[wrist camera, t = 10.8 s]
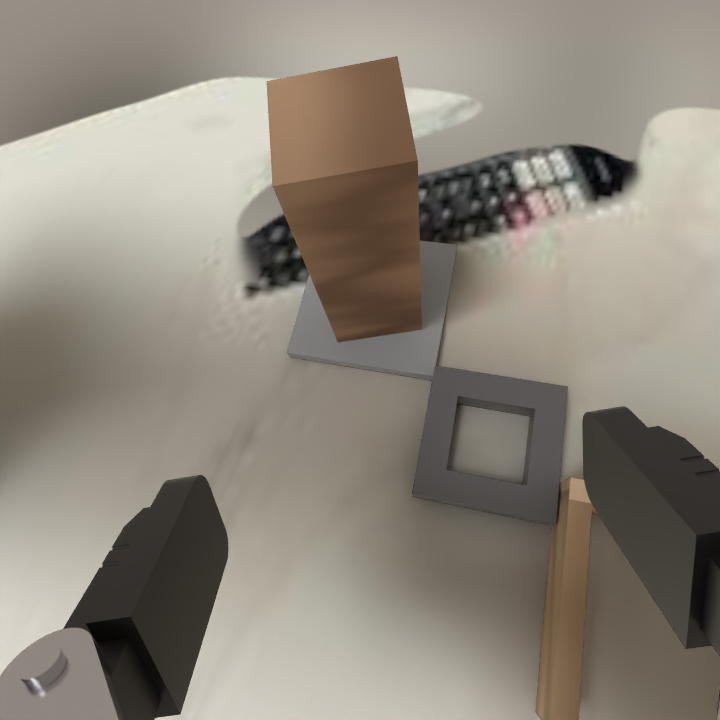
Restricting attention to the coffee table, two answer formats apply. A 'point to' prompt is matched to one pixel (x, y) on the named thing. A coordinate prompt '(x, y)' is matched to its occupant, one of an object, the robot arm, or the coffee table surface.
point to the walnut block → (351, 193)
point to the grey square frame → (541, 453)
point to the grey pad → (387, 352)
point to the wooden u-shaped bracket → (565, 605)
